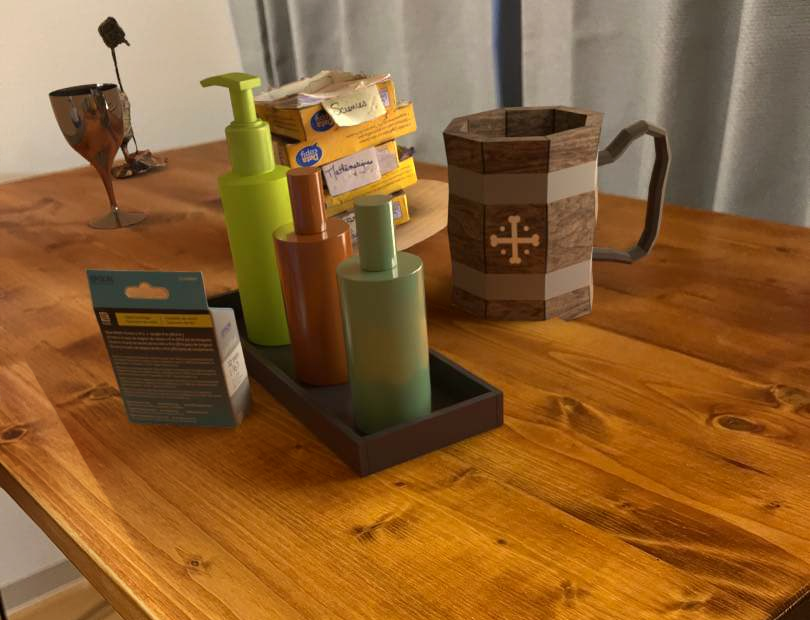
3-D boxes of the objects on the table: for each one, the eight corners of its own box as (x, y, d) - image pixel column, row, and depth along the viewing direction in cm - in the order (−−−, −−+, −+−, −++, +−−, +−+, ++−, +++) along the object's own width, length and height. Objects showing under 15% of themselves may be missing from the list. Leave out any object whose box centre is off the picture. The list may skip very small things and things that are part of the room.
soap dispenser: (280, 311, 80) (238, 65, 68) (328, 328, 76) (294, 70, 64) (227, 332, 77) (175, 79, 65) (275, 352, 73) (228, 85, 61)
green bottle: (378, 446, 59) (353, 220, 50) (340, 415, 63) (311, 200, 54) (447, 421, 61) (436, 199, 52) (407, 392, 65) (389, 182, 56)
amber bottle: (314, 393, 66) (282, 186, 57) (283, 367, 70) (250, 171, 61) (378, 372, 68) (357, 169, 59) (345, 348, 72) (321, 156, 63)
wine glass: (102, 233, 107) (65, 99, 98) (75, 222, 112) (37, 93, 103) (160, 217, 111) (129, 86, 102) (131, 207, 116) (99, 81, 107)
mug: (467, 340, 74) (461, 150, 65) (434, 285, 84) (425, 116, 76) (688, 308, 76) (712, 119, 67) (629, 258, 86) (642, 91, 78)
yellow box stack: (257, 294, 86) (224, 109, 76) (234, 224, 106) (205, 70, 96) (495, 256, 90) (492, 75, 80) (430, 196, 110) (422, 44, 100)
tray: (362, 488, 56) (357, 444, 54) (198, 336, 79) (190, 301, 77) (504, 434, 61) (503, 391, 59) (310, 304, 83) (305, 270, 81)
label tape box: (258, 412, 66) (226, 249, 59) (238, 439, 63) (201, 271, 56) (152, 407, 68) (108, 249, 61) (127, 433, 65) (78, 270, 58)
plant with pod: (95, 171, 134) (54, 21, 122) (169, 161, 136) (135, 12, 124) (93, 184, 128) (50, 27, 116) (171, 172, 130) (136, 17, 118)
